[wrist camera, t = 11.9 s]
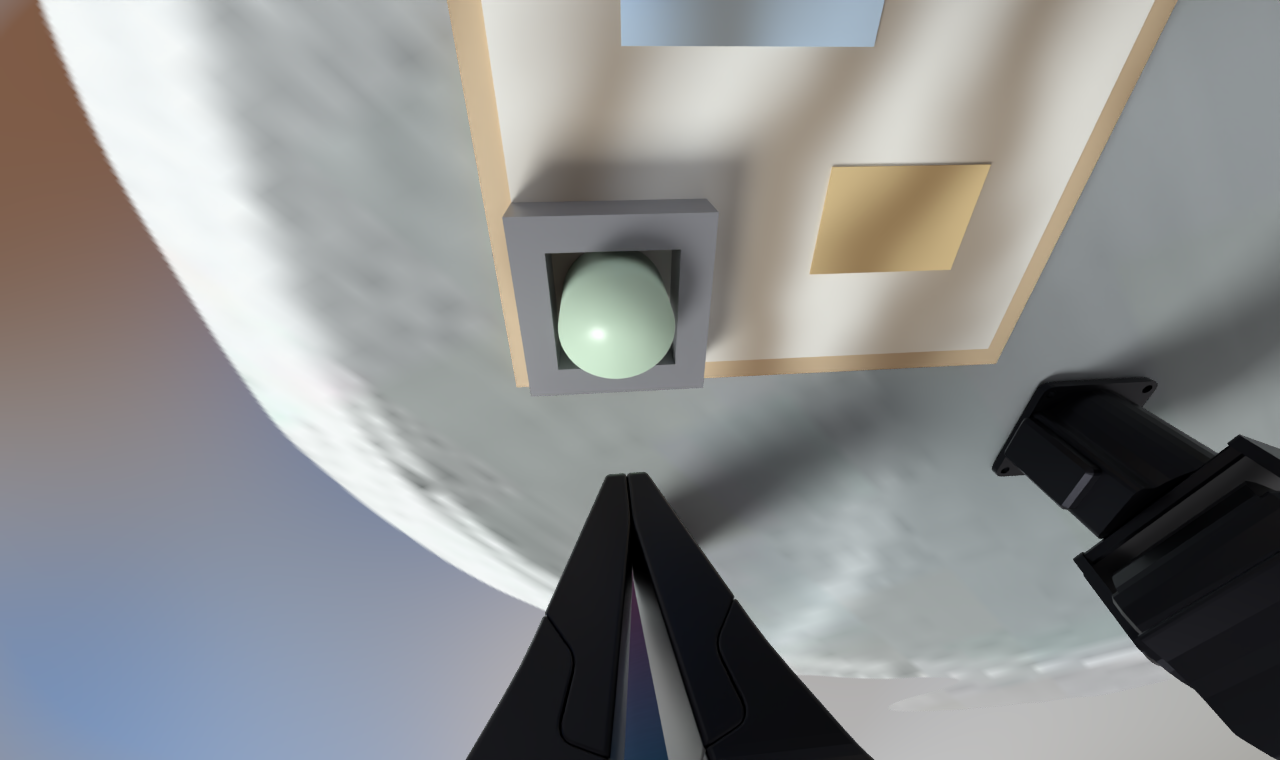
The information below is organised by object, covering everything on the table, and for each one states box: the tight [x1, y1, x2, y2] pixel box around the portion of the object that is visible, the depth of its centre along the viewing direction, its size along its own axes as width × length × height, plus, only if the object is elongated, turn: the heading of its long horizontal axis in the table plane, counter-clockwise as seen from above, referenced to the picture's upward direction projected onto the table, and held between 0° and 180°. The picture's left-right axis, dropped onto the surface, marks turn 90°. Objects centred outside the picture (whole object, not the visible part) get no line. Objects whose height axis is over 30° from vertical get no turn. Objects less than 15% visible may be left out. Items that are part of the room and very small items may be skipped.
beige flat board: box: [447, 0, 1177, 387], centre depth 16 cm, size 23×20×1 cm
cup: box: [624, 572, 668, 760], centre depth 23 cm, size 7×7×15 cm
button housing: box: [502, 199, 719, 396], centre depth 18 cm, size 7×7×2 cm
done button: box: [558, 251, 675, 379], centre depth 17 cm, size 4×4×3 cm
